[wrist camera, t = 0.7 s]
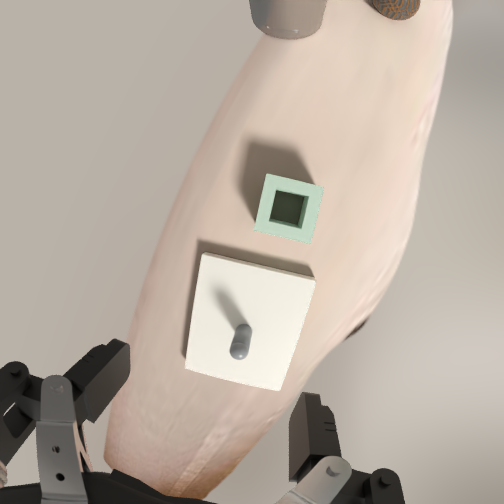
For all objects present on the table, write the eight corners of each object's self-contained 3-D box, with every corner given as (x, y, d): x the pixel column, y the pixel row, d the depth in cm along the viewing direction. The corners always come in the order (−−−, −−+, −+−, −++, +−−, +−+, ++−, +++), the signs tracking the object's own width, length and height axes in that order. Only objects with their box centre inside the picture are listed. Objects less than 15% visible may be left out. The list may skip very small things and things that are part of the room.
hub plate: (205, 251, 31) (186, 265, 25) (314, 277, 31) (324, 298, 24) (187, 362, 35) (171, 392, 28) (279, 384, 34) (279, 418, 27)
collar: (267, 177, 29) (266, 173, 25) (317, 189, 29) (324, 187, 25) (256, 226, 30) (253, 230, 26) (305, 237, 30) (310, 244, 26)
